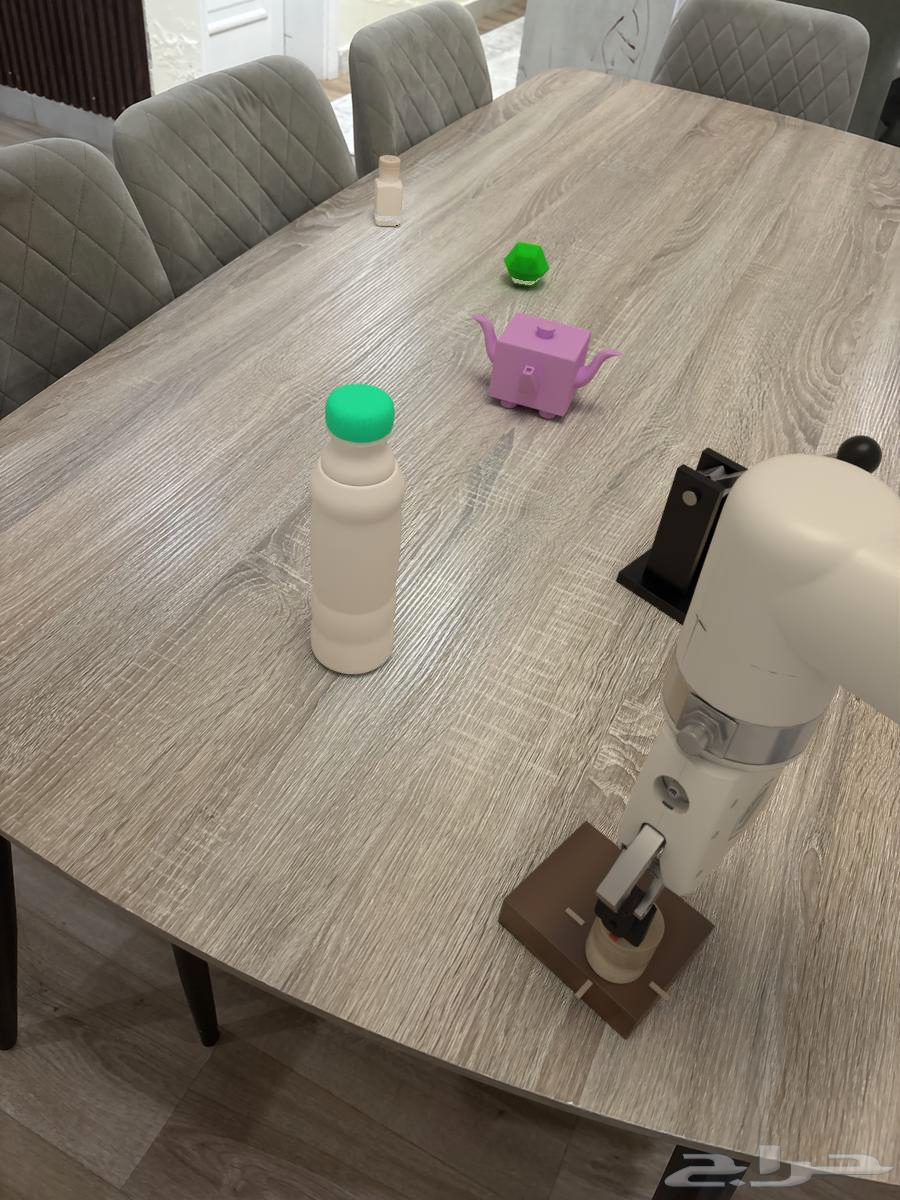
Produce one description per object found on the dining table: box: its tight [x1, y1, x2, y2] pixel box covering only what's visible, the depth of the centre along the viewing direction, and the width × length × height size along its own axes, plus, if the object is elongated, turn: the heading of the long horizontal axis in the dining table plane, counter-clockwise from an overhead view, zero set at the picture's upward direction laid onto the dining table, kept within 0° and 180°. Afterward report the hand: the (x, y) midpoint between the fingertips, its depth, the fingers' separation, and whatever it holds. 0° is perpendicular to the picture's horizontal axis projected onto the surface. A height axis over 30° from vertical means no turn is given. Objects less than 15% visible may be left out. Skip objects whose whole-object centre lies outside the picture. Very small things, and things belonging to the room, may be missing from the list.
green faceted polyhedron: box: [503, 241, 550, 287], centre depth 134 cm, size 7×6×9 cm
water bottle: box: [308, 382, 406, 675], centre depth 72 cm, size 7×7×25 cm
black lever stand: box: [615, 446, 749, 625], centre depth 86 cm, size 8×8×14 cm
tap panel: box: [497, 820, 716, 1041], centre depth 63 cm, size 12×11×3 cm
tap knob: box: [585, 903, 664, 984], centre depth 58 cm, size 4×4×5 cm
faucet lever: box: [697, 434, 883, 497], centre depth 77 cm, size 17×3×3 cm
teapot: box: [470, 311, 623, 420], centre depth 109 cm, size 18×13×10 cm
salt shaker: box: [373, 154, 404, 227], centre depth 143 cm, size 4×4×10 cm
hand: (663, 875), depth 58 cm, fingers open, 9 cm apart
